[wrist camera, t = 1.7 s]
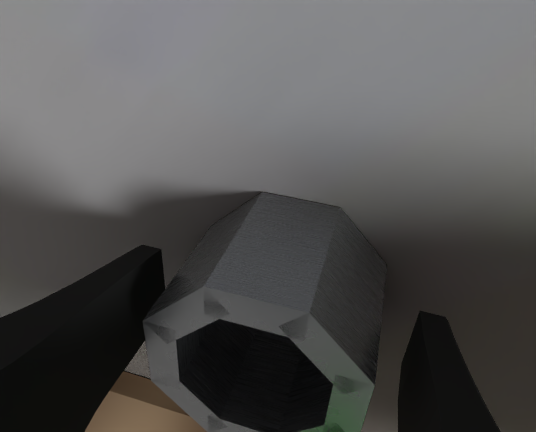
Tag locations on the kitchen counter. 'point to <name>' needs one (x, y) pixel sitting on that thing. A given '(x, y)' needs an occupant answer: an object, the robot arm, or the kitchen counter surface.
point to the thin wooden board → (140, 409)
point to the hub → (272, 322)
